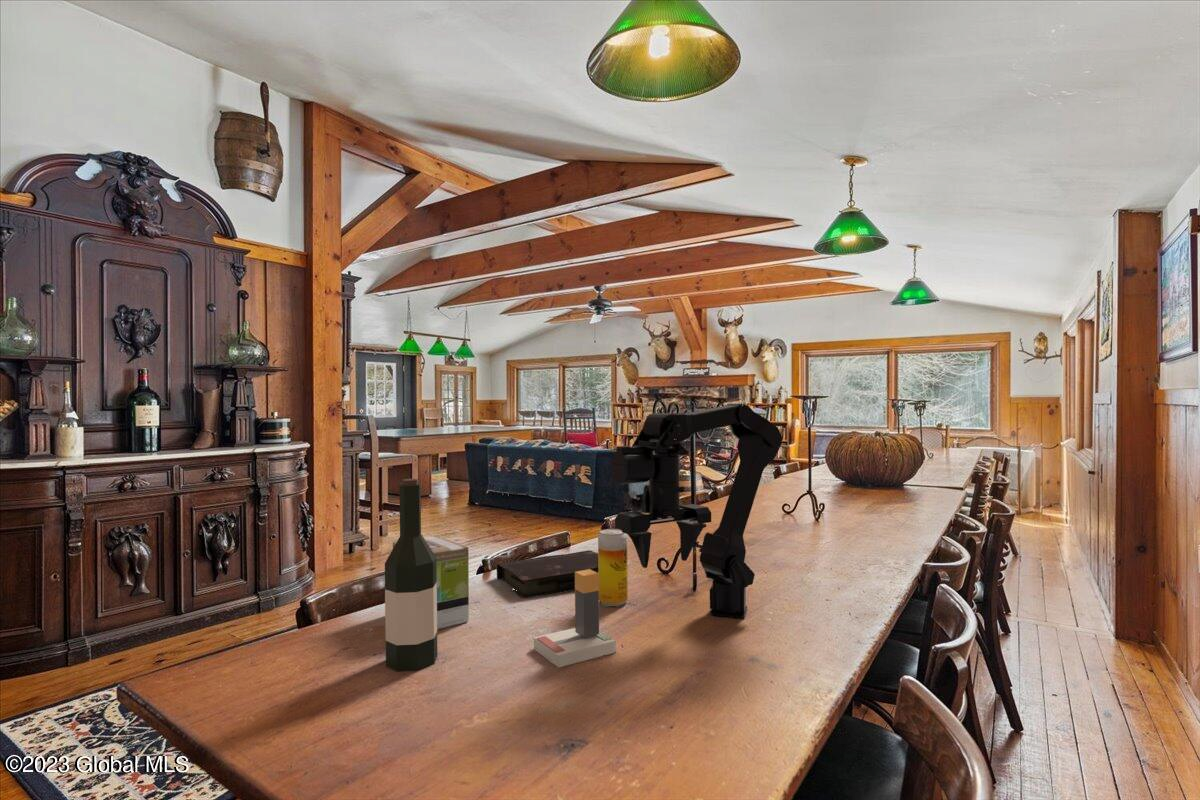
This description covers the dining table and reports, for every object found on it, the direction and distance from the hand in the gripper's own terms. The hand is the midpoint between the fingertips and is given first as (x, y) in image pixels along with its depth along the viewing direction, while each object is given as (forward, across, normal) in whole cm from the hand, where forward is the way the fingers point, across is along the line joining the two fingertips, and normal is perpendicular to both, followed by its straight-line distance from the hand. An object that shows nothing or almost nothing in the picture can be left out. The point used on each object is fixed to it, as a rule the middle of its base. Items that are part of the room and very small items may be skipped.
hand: (664, 563), depth 120 cm
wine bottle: (+12, +44, -11) cm, 47 cm away
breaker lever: (+10, +17, 0) cm, 19 cm away
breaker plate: (+12, +19, 0) cm, 23 cm away
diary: (+13, +2, -38) cm, 40 cm away
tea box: (+12, +35, -30) cm, 48 cm away
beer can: (+12, 0, -18) cm, 21 cm away
